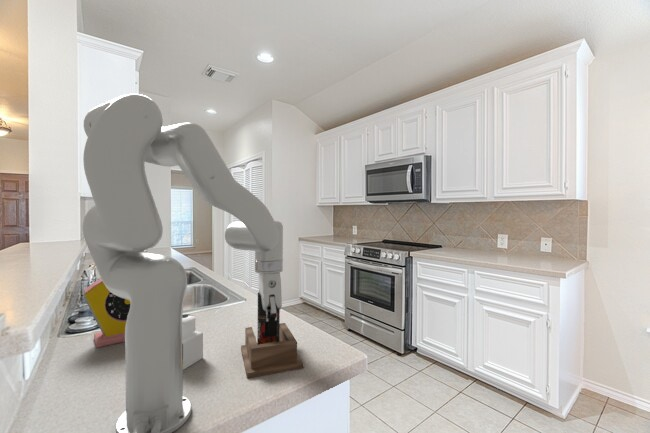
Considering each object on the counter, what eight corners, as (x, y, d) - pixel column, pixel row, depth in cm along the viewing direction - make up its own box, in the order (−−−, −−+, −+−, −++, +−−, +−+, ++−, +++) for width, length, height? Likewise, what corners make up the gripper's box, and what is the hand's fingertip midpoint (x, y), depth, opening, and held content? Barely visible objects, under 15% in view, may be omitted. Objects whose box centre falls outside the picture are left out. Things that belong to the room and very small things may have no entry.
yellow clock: (84, 351, 87) (83, 275, 87) (83, 340, 94) (82, 270, 94) (169, 331, 102) (168, 266, 101) (162, 323, 109) (162, 262, 108)
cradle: (303, 368, 78) (303, 343, 78) (246, 378, 74) (246, 352, 74) (288, 342, 94) (288, 322, 93) (241, 349, 89) (241, 328, 89)
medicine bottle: (161, 365, 80) (161, 319, 79) (183, 353, 86) (183, 310, 86) (182, 370, 77) (182, 323, 77) (203, 358, 84) (203, 314, 83)
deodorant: (252, 348, 84) (253, 293, 84) (268, 340, 89) (268, 289, 89) (268, 354, 81) (268, 297, 81) (283, 346, 86) (284, 292, 86)
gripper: (289, 270, 78) (289, 341, 78) (276, 260, 94) (275, 319, 94) (259, 272, 75) (259, 346, 75) (251, 261, 91) (250, 322, 92)
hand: (268, 330), depth 85 cm, fingers closed on deodorant, 5 cm apart
